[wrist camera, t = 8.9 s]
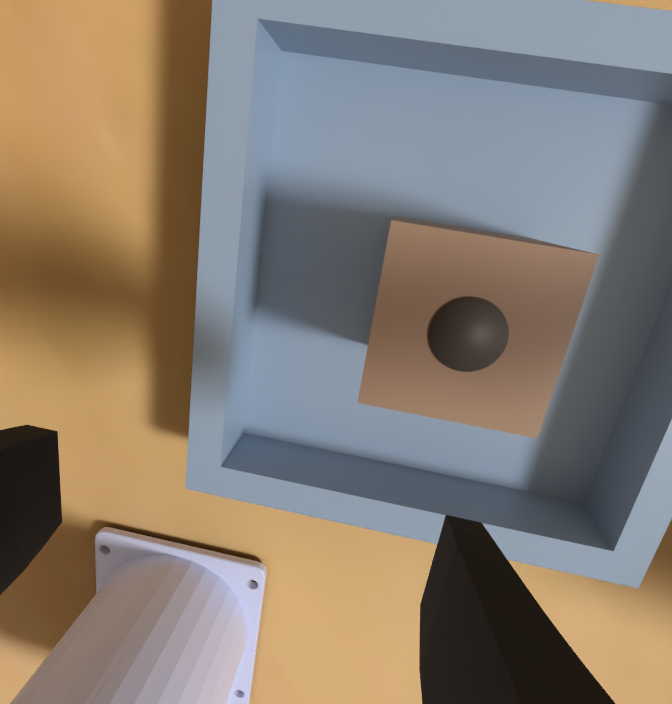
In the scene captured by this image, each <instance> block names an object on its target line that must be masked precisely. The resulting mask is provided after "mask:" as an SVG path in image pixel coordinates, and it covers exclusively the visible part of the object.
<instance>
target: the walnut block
mask: <svg viewBox="0 0 672 704" xmlns="http://www.w3.org/2000/svg"><path fill="white" fill-rule="evenodd" d="M598 257H599V254H595V253H591V252H586V251H582V250H578V249H574V248H570V247H565V246H561V245H557V244H553V243H549V242H544V241H540V240H536V239H531V238H525V237H519V236H512V235H506V234H500V233H494V232H488V231H482V230H476V229H470V228H464V227H458V226H451V225H445V224H439V223H433V222H427V221H421V220H415V219H409V218H403V217H397V216H394V217H393V218H392V220H391V224H390V229H389V235H388V240H387V245H386V251H385V256H384V262H383V267H382V272H381V278H380V283H379V289H378V294H377V299H376V305H375V310H374V315H373V321H372V326H371V332H370V337H369V342H368V348H367V353H366V359H365V364H364V369H363V375H362V380H361V386H360V391H359V396H358V402H357V403H361V404H366V405H371V406H376V407H381V408H386V409H391V410H396V411H401V412H406V413H411V414H416V415H421V416H426V417H431V418H436V419H442V420H447V421H452V422H457V423H462V424H467V425H472V426H477V427H482V428H487V429H492V430H497V431H502V432H507V433H512V434H517V435H522V436H527V437H532V438H538V435H539V432H540V429H541V426H542V423H543V420H544V417H545V414H546V411H547V408H548V406H549V403H550V400H551V397H552V394H553V391H554V388H555V385H556V382H557V379H558V376H559V373H560V370H561V367H562V364H563V361H564V358H565V355H566V352H567V349H568V346H569V343H570V340H571V337H572V334H573V331H574V328H575V325H576V322H577V319H578V316H579V313H580V310H581V307H582V304H583V302H584V299H585V296H586V293H587V290H588V287H589V284H590V281H591V278H592V275H593V272H594V269H595V266H596V263H597V260H598Z"/></svg>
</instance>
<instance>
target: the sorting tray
mask: <svg viewBox="0 0 672 704" xmlns="http://www.w3.org/2000/svg"><path fill="white" fill-rule="evenodd" d="M394 216H397V217H403V218H409V219H415V220H421V221H427V222H433V223H439V224H445V225H451V226H458V227H464V228H470V229H476V230H482V231H488V232H494V233H500V234H506V235H512V236H519V237H525V238H531V239H536V240H540V241H544V242H549V243H553V244H557V245H561V246H565V247H570V248H574V249H578V250H582V251H586V252H591V253H595V254H599V257H598V260H597V263H596V266H595V269H594V272H593V275H592V278H591V281H590V284H589V287H588V290H587V293H586V296H585V299H584V302H583V304H582V307H581V310H580V313H579V316H578V319H577V322H576V325H575V328H574V331H573V334H572V337H571V340H570V343H569V346H568V349H567V352H566V355H565V358H564V361H563V364H562V367H561V370H560V373H559V376H558V379H557V382H556V385H555V388H554V391H553V394H552V397H551V400H550V403H549V406H548V408H547V411H546V414H545V417H544V420H543V423H542V426H541V429H540V432H539V435H538V438H532V437H527V436H522V435H517V434H512V433H507V432H502V431H497V430H492V429H487V428H482V427H477V426H472V425H467V424H462V423H457V422H452V421H447V420H442V419H436V418H431V417H426V416H421V415H416V414H411V413H406V412H401V411H396V410H391V409H386V408H381V407H376V406H371V405H366V404H361V403H357V402H358V396H359V391H360V386H361V380H362V375H363V369H364V364H365V359H366V353H367V348H368V342H369V337H370V332H371V326H372V321H373V315H374V310H375V305H376V299H377V294H378V289H379V283H380V278H381V272H382V267H383V262H384V256H385V251H386V245H387V240H388V235H389V229H390V224H391V220H392V218H393V217H394ZM186 489H189V490H194V491H198V492H203V493H207V494H212V495H216V496H221V497H225V498H230V499H235V500H239V501H244V502H248V503H253V504H257V505H262V506H266V507H271V508H275V509H280V510H285V511H289V512H294V513H298V514H303V515H307V516H312V517H316V518H321V519H325V520H330V521H335V522H339V523H344V524H348V525H353V526H357V527H362V528H366V529H371V530H375V531H380V532H385V533H389V534H394V535H398V536H403V537H407V538H412V539H416V540H421V541H425V542H430V543H435V544H438V540H439V537H440V533H441V530H442V526H443V523H444V519H445V516H446V515H449V516H454V517H459V518H463V519H468V520H473V521H477V522H481V523H482V524H483V525H484V527H485V528H486V530H487V531H488V532H489V534H490V535H491V537H492V538H493V540H494V541H495V543H496V544H497V546H498V547H499V548H500V550H501V551H502V553H503V554H504V556H505V557H506V559H507V560H512V561H516V562H521V563H525V564H530V565H535V566H539V567H544V568H548V569H553V570H557V571H562V572H566V573H571V574H575V575H580V576H585V577H589V578H594V579H598V580H603V581H607V582H612V583H616V584H621V585H625V586H630V587H635V588H639V586H640V584H641V582H642V580H643V578H644V576H645V574H646V572H647V570H648V567H649V565H650V563H651V561H652V559H653V557H654V555H655V553H656V551H657V549H658V546H659V544H660V542H661V540H662V538H663V536H664V534H665V532H666V530H667V528H668V525H669V523H670V521H671V519H672V11H667V10H659V9H651V8H643V7H635V6H627V5H619V4H610V3H602V2H594V1H586V0H212V16H211V34H210V52H209V70H208V89H207V107H206V125H205V143H204V162H203V180H202V198H201V216H200V235H199V253H198V271H197V290H196V308H195V326H194V344H193V363H192V381H191V399H190V417H189V436H188V454H187V472H186Z"/></svg>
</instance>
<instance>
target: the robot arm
mask: <svg viewBox="0 0 672 704" xmlns="http://www.w3.org/2000/svg"><path fill="white" fill-rule="evenodd" d="M61 523H62V512H61V493H60V473H59V454H58V434H57V431H53V430H49V429H44V428H39V427H35V426H30V425H24V426H19V427H13V428H9V429H4V430H0V595H1V594H2V593H3V592H4V591H5V590H6V589H7V588H8V586H9V585H10V584H11V583H12V582H13V581H14V580H15V579H16V578H17V577H18V576H19V575H20V574H21V573H22V572H23V571H24V570H25V568H26V567H27V566H28V565H29V563H30V562H31V561H32V560H33V559H34V557H35V556H36V555H37V554H38V552H39V551H40V550H41V549H42V547H43V546H44V545H45V544H46V542H47V541H48V540H49V538H50V537H51V536H52V534H53V533H54V532H55V530H56V529H57V528H58V527H59V525H60V524H61ZM95 560H96V595H95V596H94V597H93V599H92V600H91V601H90V603H89V604H88V605H87V606H86V608H85V609H84V610H83V611H82V613H81V614H80V615H79V617H78V618H77V619H76V620H75V622H74V623H73V624H72V626H71V627H70V628H69V629H68V631H67V632H66V633H65V634H64V636H63V637H62V638H61V640H60V641H59V642H58V643H57V645H56V646H55V647H54V648H53V650H52V651H51V652H50V654H49V655H48V656H47V657H46V659H45V660H44V661H43V662H42V664H41V665H40V666H39V668H38V669H37V670H36V671H35V673H34V674H33V675H32V676H31V678H30V679H29V680H28V682H27V683H26V684H25V685H24V687H23V688H22V689H21V691H20V692H19V693H18V694H17V696H16V697H15V698H14V699H13V701H12V702H11V703H10V704H249V702H250V695H251V687H252V680H253V672H254V665H255V657H256V649H257V642H258V634H259V627H260V619H261V612H262V604H263V597H264V589H265V582H266V574H267V571H266V568H265V566H264V565H263V564H262V563H260V562H258V561H254V560H250V559H245V558H241V557H237V556H232V555H228V554H224V553H219V552H215V551H211V550H206V549H202V548H197V547H193V546H189V545H184V544H180V543H176V542H171V541H167V540H163V539H158V538H154V537H150V536H145V535H141V534H137V533H132V532H128V531H124V530H119V529H115V528H111V527H104V528H102V529H101V530H100V531H99V532H98V533H97V534H96V536H95ZM251 580H254V581H256V582H253V581H251ZM420 679H421V691H422V703H423V704H615V703H614V701H613V700H612V699H611V698H610V696H609V695H608V694H607V693H606V691H605V690H604V689H603V688H602V686H601V685H600V684H599V683H598V682H597V680H596V679H595V678H594V677H593V675H592V674H591V673H590V672H589V670H588V669H587V668H586V667H585V665H584V664H583V663H582V661H581V660H580V659H579V658H578V656H577V655H576V654H575V652H574V651H573V650H572V648H571V647H570V646H569V645H568V643H567V642H566V641H565V639H564V638H563V637H562V635H561V634H560V633H559V631H558V630H557V629H556V627H555V626H554V625H553V623H552V622H551V621H550V619H549V618H548V616H547V615H546V614H545V612H544V611H543V610H542V608H541V607H540V606H539V604H538V603H537V601H536V600H535V599H534V597H533V596H532V594H531V593H530V592H529V590H528V589H527V587H526V586H525V584H524V583H523V582H522V580H521V579H520V577H519V576H518V574H517V573H516V572H515V570H514V569H513V567H512V566H511V564H510V563H509V562H508V560H507V559H506V557H505V556H504V554H503V553H502V551H501V550H500V548H499V547H498V546H497V544H496V543H495V541H494V540H493V538H492V537H491V535H490V534H489V532H488V531H487V530H486V528H485V527H484V525H483V524H482V523H481V522H477V521H473V520H468V519H463V518H459V517H454V516H449V515H446V516H445V519H444V523H443V526H442V530H441V533H440V537H439V540H438V544H437V548H436V551H435V555H434V558H433V562H432V565H431V569H430V573H429V576H428V580H427V583H426V587H425V590H424V594H423V598H422V601H421V605H420Z"/></svg>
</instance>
